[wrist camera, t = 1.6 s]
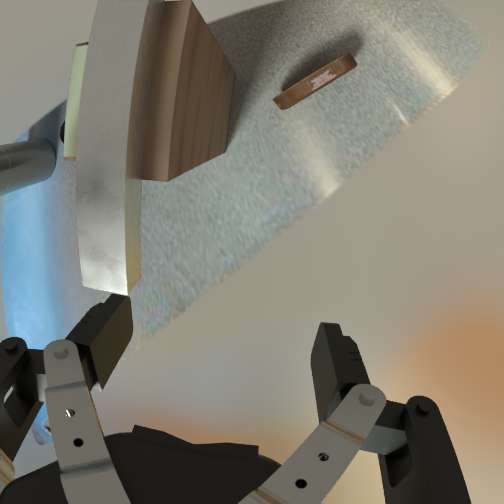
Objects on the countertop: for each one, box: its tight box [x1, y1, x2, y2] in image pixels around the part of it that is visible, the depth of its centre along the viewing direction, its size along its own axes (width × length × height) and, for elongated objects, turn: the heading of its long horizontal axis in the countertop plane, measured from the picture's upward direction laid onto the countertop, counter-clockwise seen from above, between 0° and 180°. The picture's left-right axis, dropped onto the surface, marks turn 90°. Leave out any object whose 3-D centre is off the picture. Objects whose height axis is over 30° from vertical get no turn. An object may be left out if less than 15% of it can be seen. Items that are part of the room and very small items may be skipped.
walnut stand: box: [64, 0, 235, 182], centre depth 34 cm, size 16×14×32 cm
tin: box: [272, 52, 357, 110], centre depth 42 cm, size 15×3×8 cm, turn 126°
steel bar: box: [76, 0, 165, 295], centre depth 19 cm, size 4×22×3 cm, turn 173°
